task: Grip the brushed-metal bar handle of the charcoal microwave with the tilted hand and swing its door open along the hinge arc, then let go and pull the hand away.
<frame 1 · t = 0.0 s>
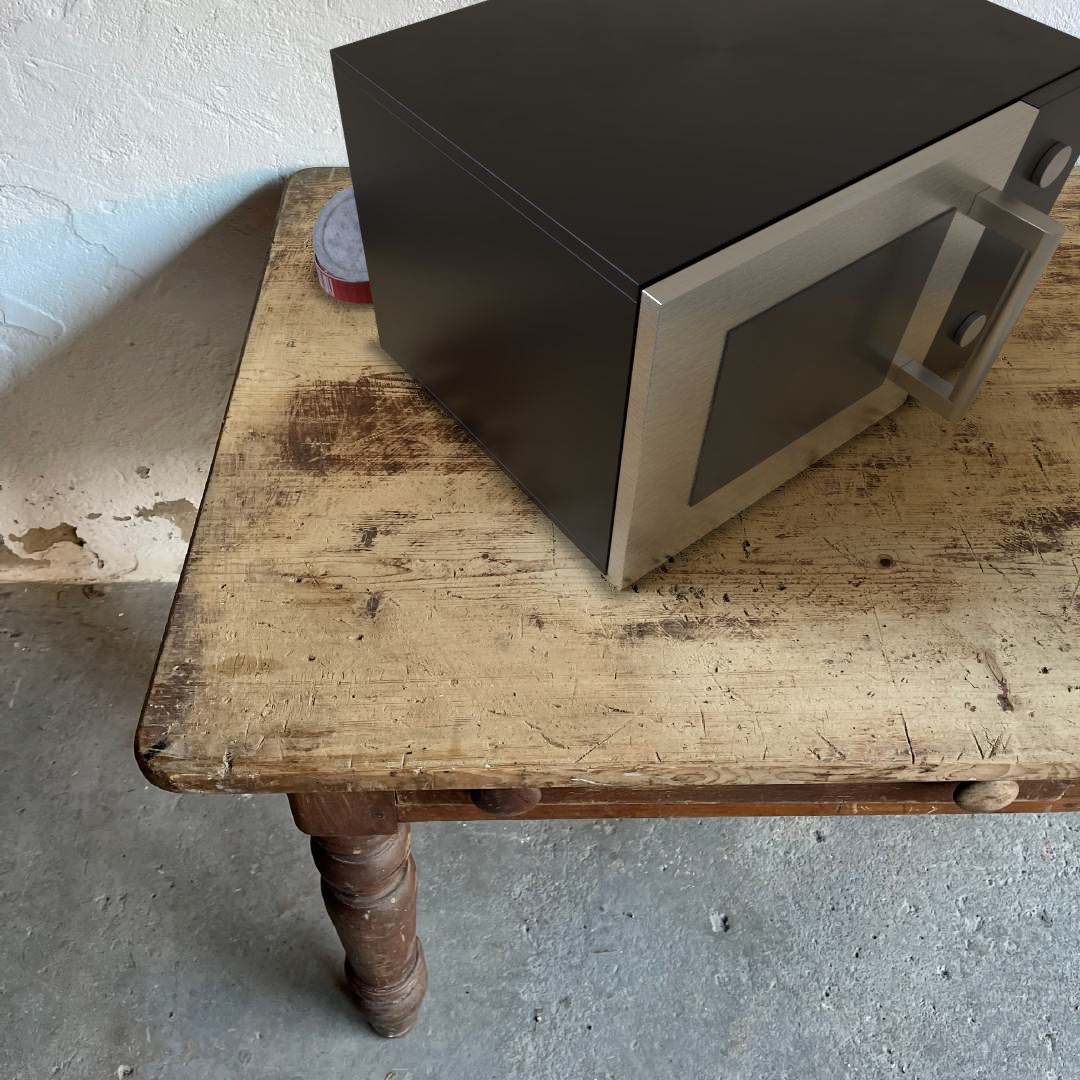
microwave: (673, 347, 87), on the table
microwave door: (840, 386, 64), point 14 cm above the table, hinge at 0.0°
canned food: (367, 277, 94), on the table
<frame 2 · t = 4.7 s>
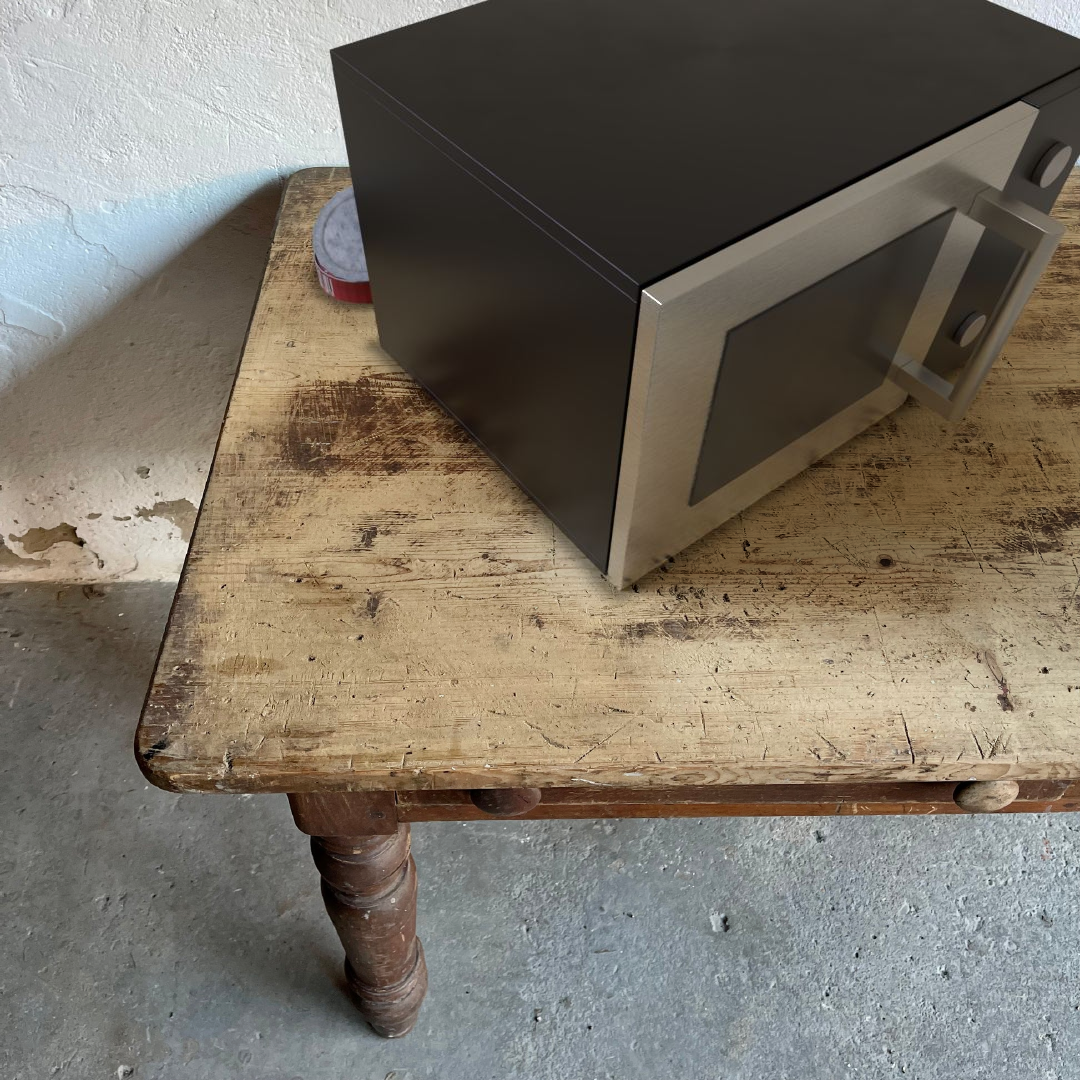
nothing on the table moved.
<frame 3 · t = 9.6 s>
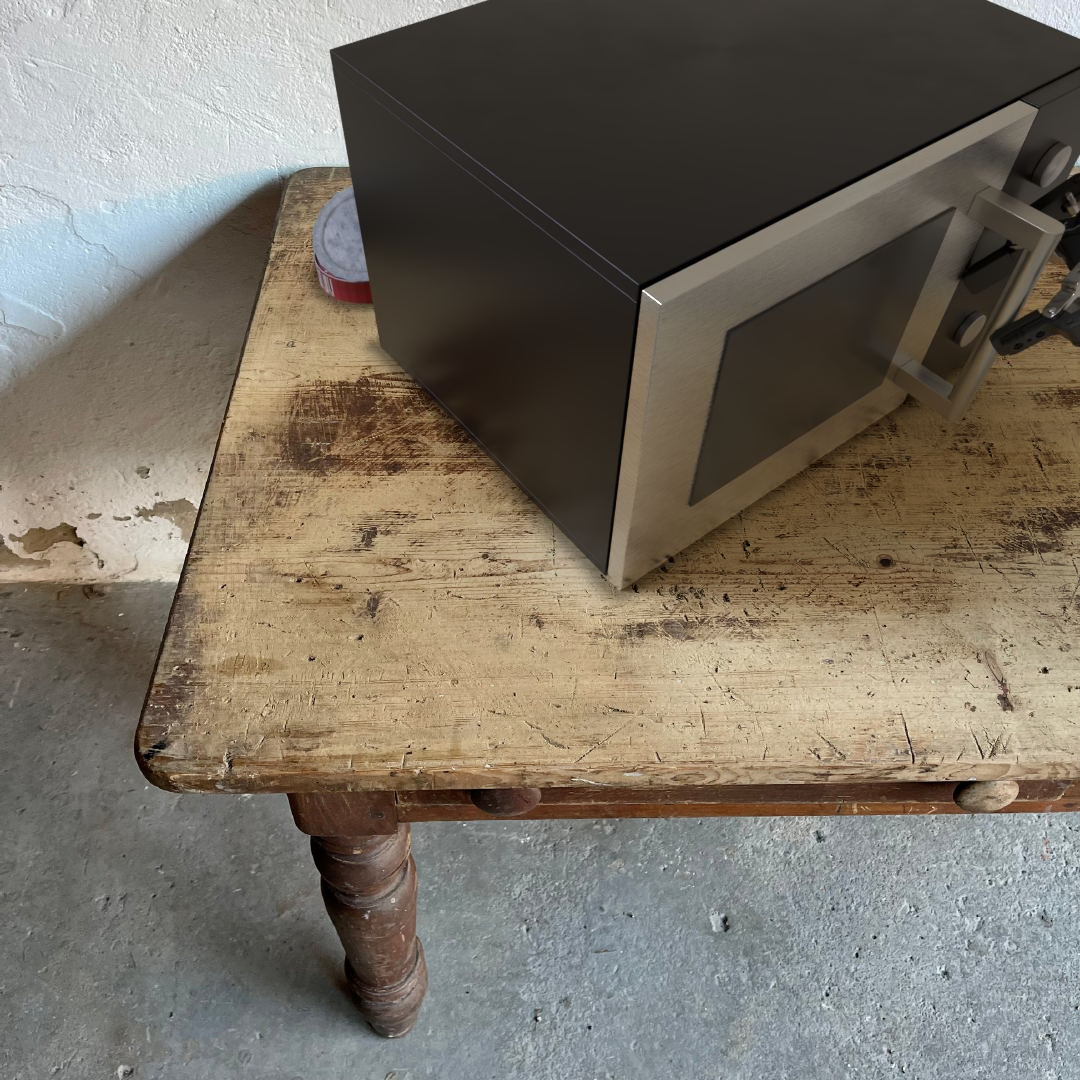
hand: (980, 315, 70), 13 cm above the table, tool tilted 45°, fingers closed on microwave door, 6 cm apart
microwave door: (839, 386, 64), point 14 cm above the table, hinge at -0.1°, touching gripper
everything else where it was.
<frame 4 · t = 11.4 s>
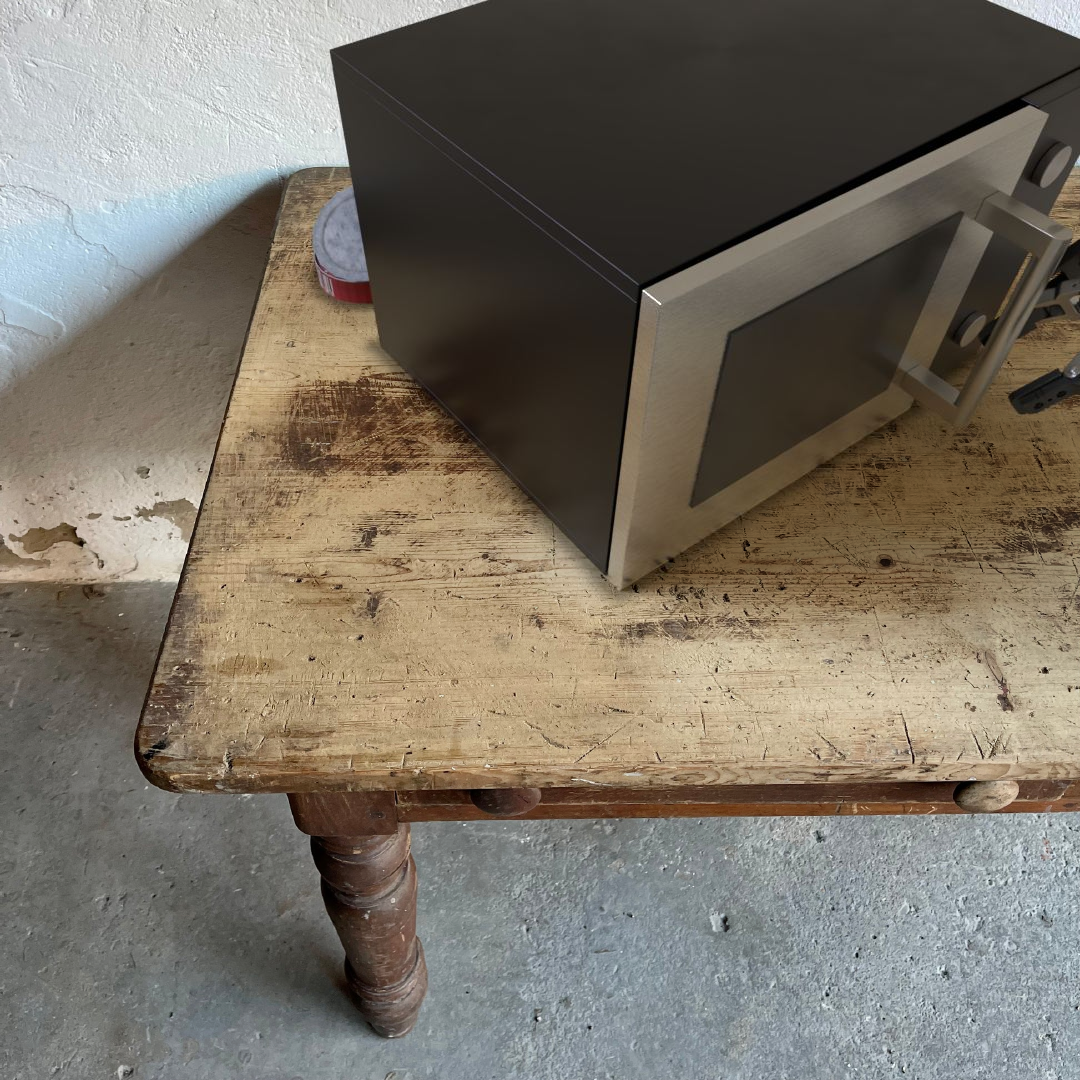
hand: (998, 374, 67), 12 cm above the table, tool tilted 45°, fingers open, 6 cm apart
microwave door: (843, 389, 64), point 14 cm above the table, hinge at 1.3°, touching gripper
everything else where it was.
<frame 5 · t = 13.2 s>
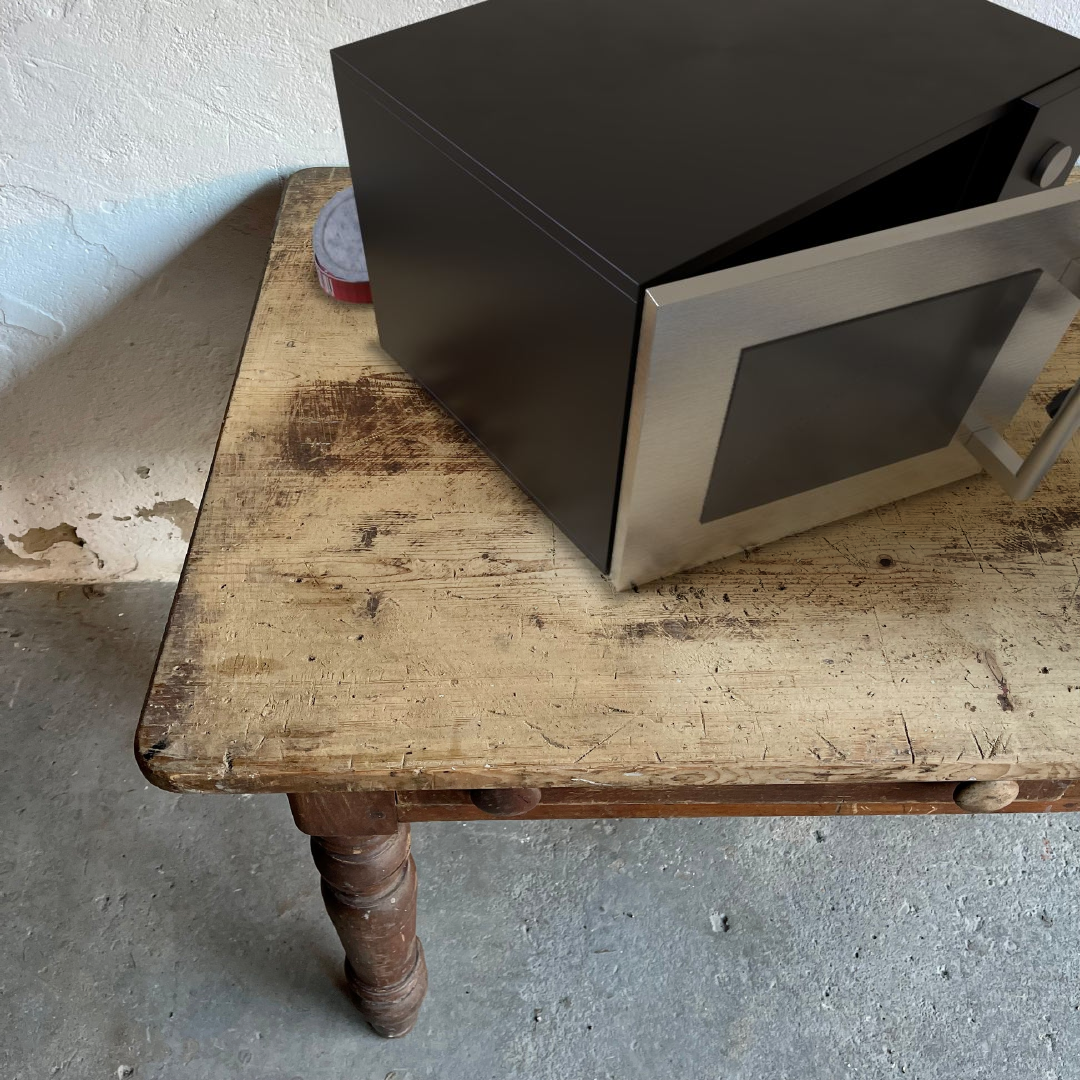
hand: (1068, 452, 63), 12 cm above the table, tool tilted 45°, fingers open, 6 cm apart
microwave door: (877, 433, 61), point 14 cm above the table, hinge at 16.0°, touching gripper
everything else where it was.
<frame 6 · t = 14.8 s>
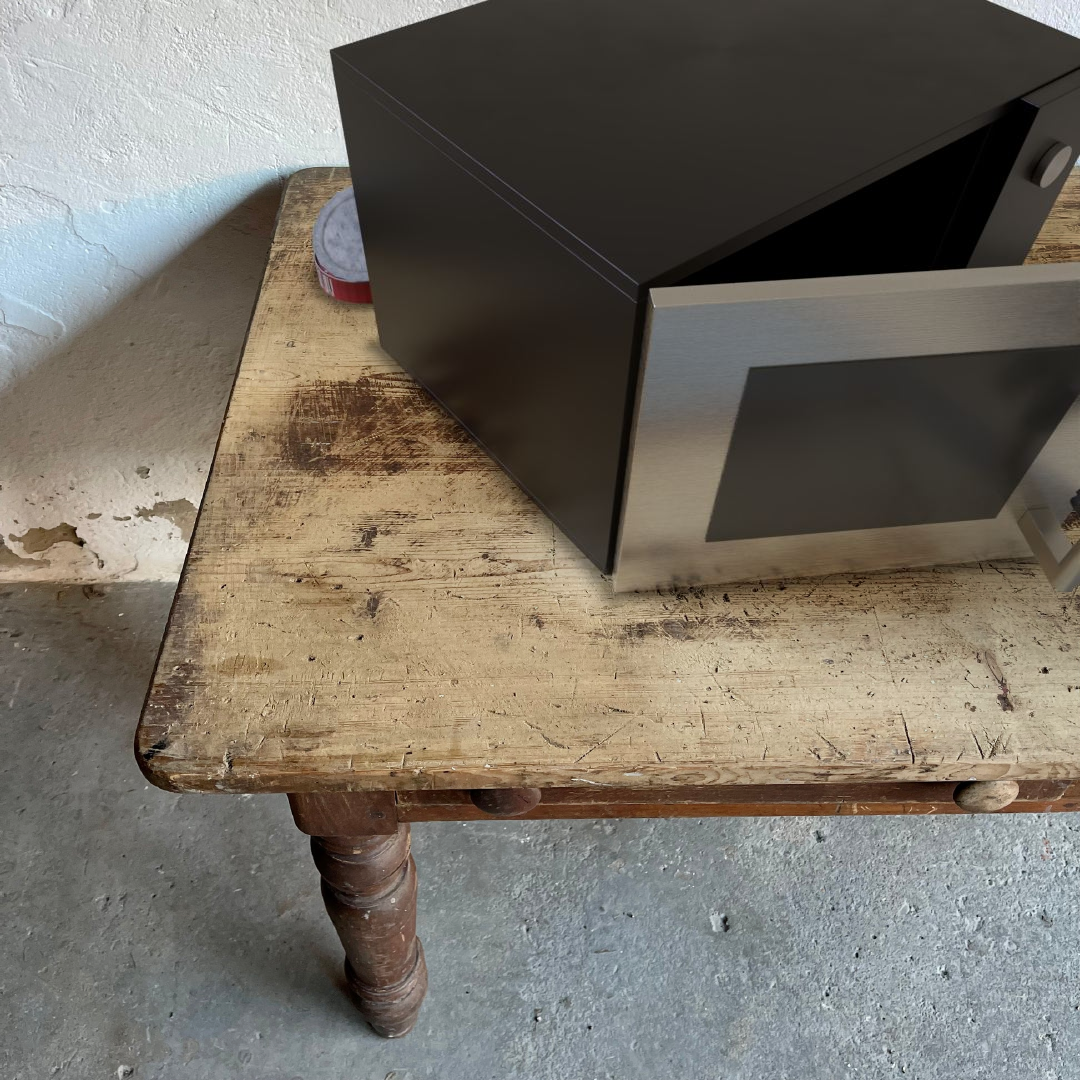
microwave door: (897, 484, 58), point 14 cm above the table, hinge at 31.2°
everything else where it was.
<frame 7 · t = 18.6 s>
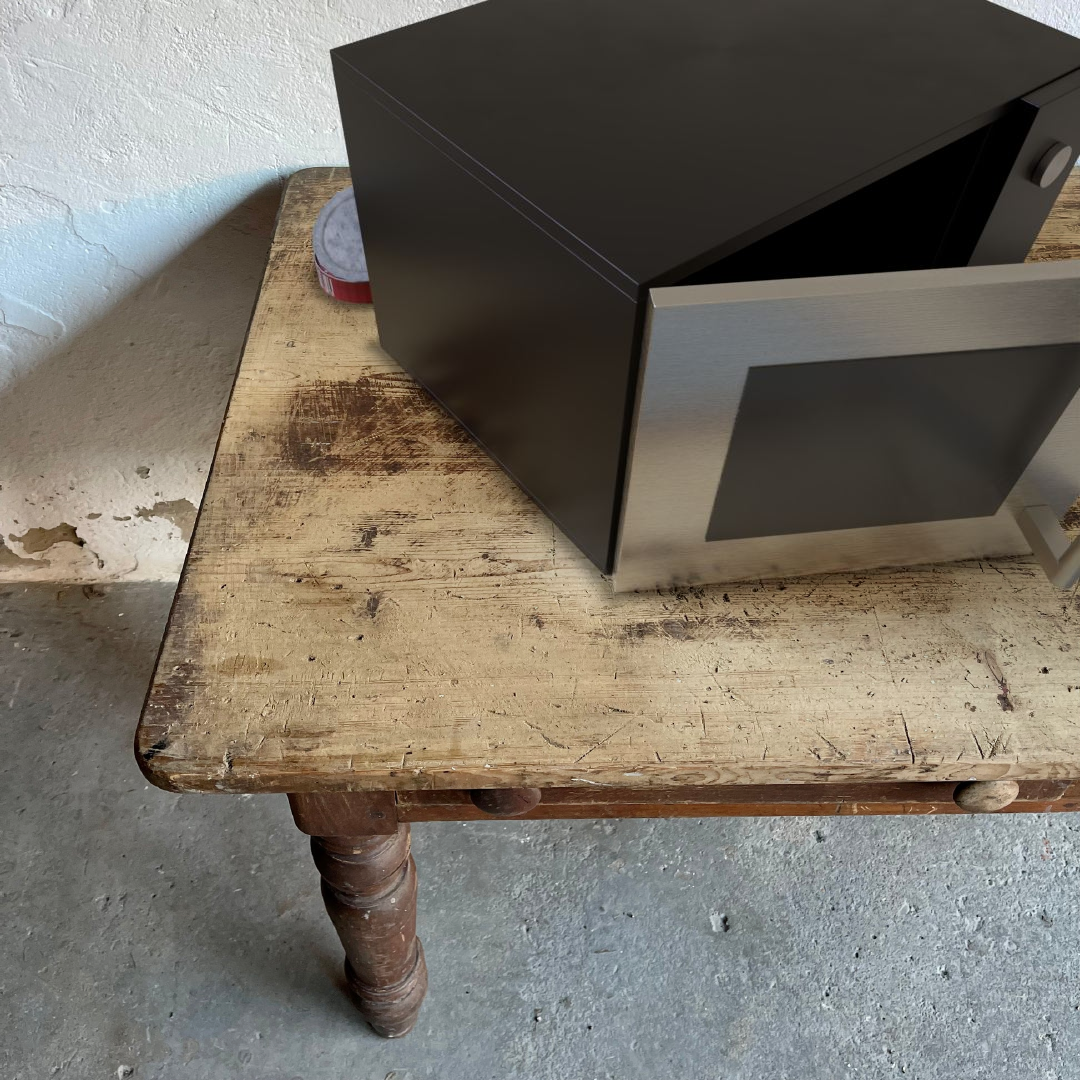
microwave door: (896, 483, 58), point 14 cm above the table, hinge at 30.7°
everything else where it was.
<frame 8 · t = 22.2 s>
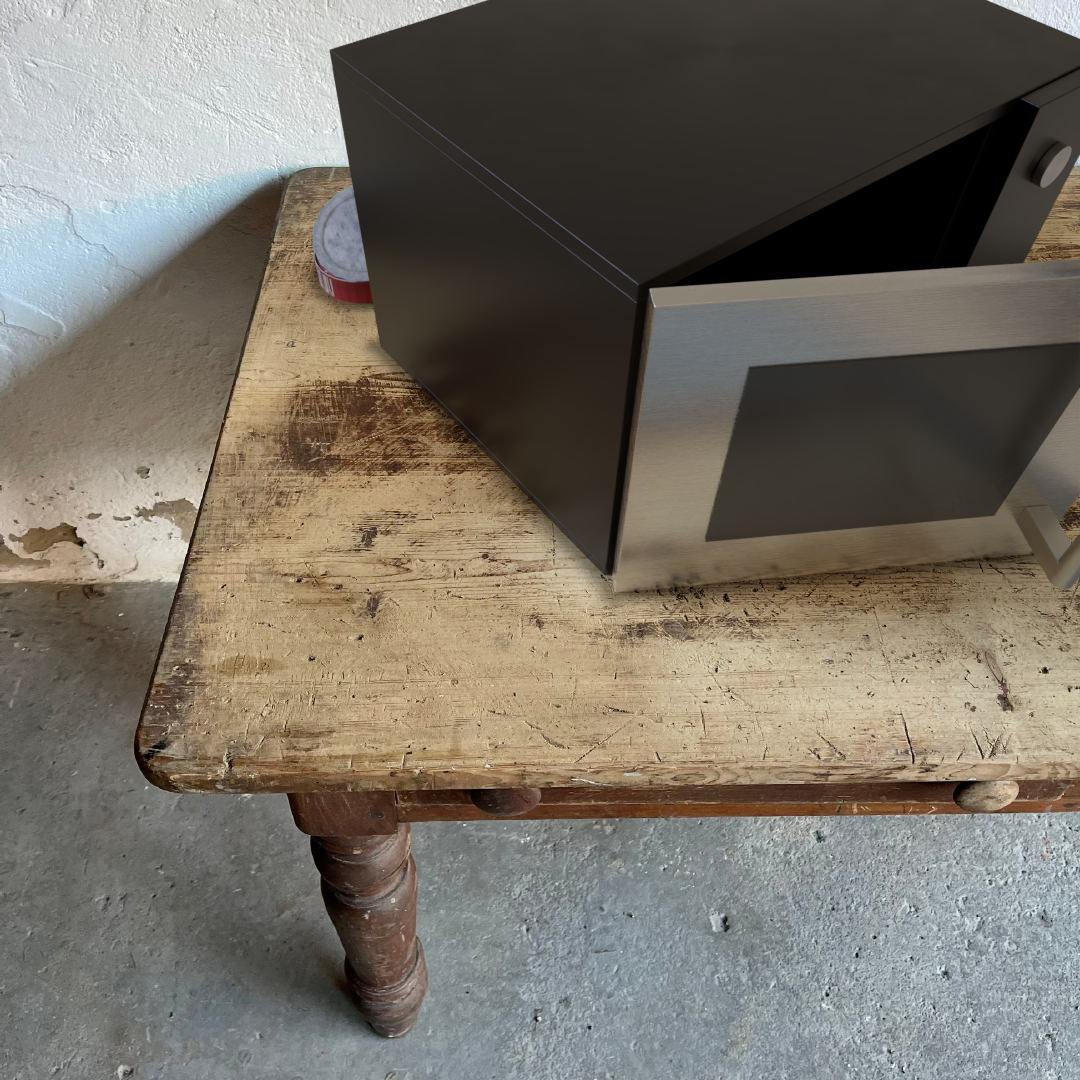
nothing on the table moved.
at the end: microwave door at +31° (first picture: +0°) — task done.
